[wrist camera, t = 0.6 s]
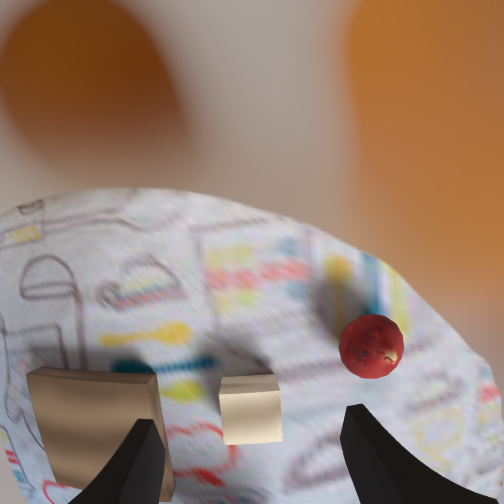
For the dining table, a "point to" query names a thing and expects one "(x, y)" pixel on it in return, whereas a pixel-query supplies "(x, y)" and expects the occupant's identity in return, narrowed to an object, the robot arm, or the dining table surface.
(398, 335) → the pomegranate
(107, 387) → the walnut block
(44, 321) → the dining table surface
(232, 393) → the beech cube
